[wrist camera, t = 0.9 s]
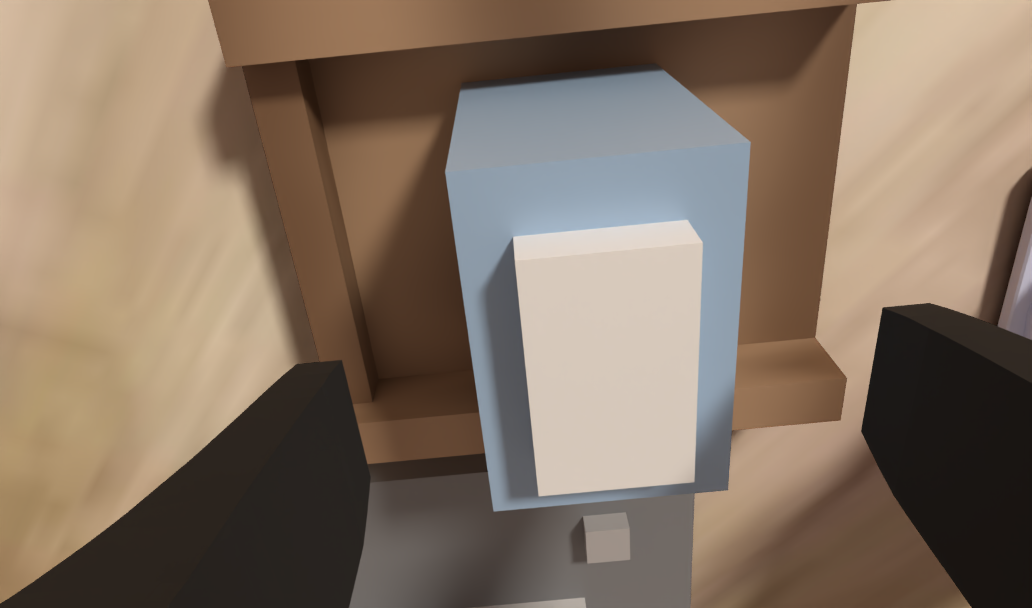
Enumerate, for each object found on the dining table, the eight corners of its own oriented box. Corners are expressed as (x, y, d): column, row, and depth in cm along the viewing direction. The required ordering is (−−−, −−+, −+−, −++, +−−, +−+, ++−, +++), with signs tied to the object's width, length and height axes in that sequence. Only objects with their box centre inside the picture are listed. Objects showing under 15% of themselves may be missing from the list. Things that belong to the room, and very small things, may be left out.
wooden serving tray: (848, -78, 14) (917, -80, 12) (798, 360, 19) (840, 420, 17) (251, -17, 14) (206, -7, 12) (354, 402, 19) (335, 466, 17)
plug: (655, 63, 15) (772, 160, 9) (655, 318, 17) (742, 525, 11) (461, 82, 15) (441, 192, 9) (492, 333, 17) (493, 547, 11)
